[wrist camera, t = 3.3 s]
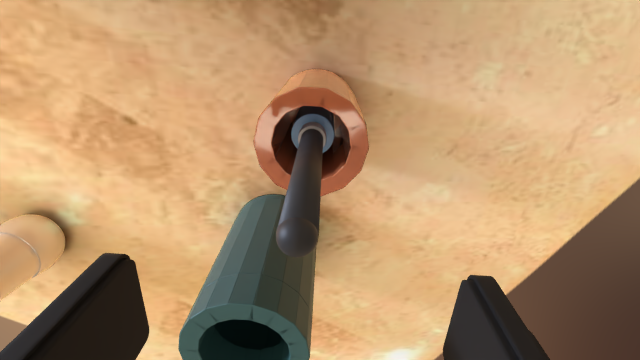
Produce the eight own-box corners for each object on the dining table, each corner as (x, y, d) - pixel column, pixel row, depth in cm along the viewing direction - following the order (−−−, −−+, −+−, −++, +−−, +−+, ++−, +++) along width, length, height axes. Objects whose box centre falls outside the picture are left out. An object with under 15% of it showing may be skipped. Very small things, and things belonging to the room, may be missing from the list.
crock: (276, 66, 31) (251, 84, 21) (360, 70, 31) (375, 90, 21) (276, 144, 34) (255, 193, 24) (353, 148, 34) (363, 198, 24)
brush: (300, 93, 31) (248, 206, 11) (334, 94, 31) (343, 211, 11) (299, 126, 33) (251, 281, 13) (332, 128, 33) (337, 286, 13)
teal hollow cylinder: (233, 191, 36) (169, 300, 22) (318, 196, 36) (312, 307, 22) (237, 260, 40) (185, 392, 26) (315, 264, 40) (307, 398, 26)
